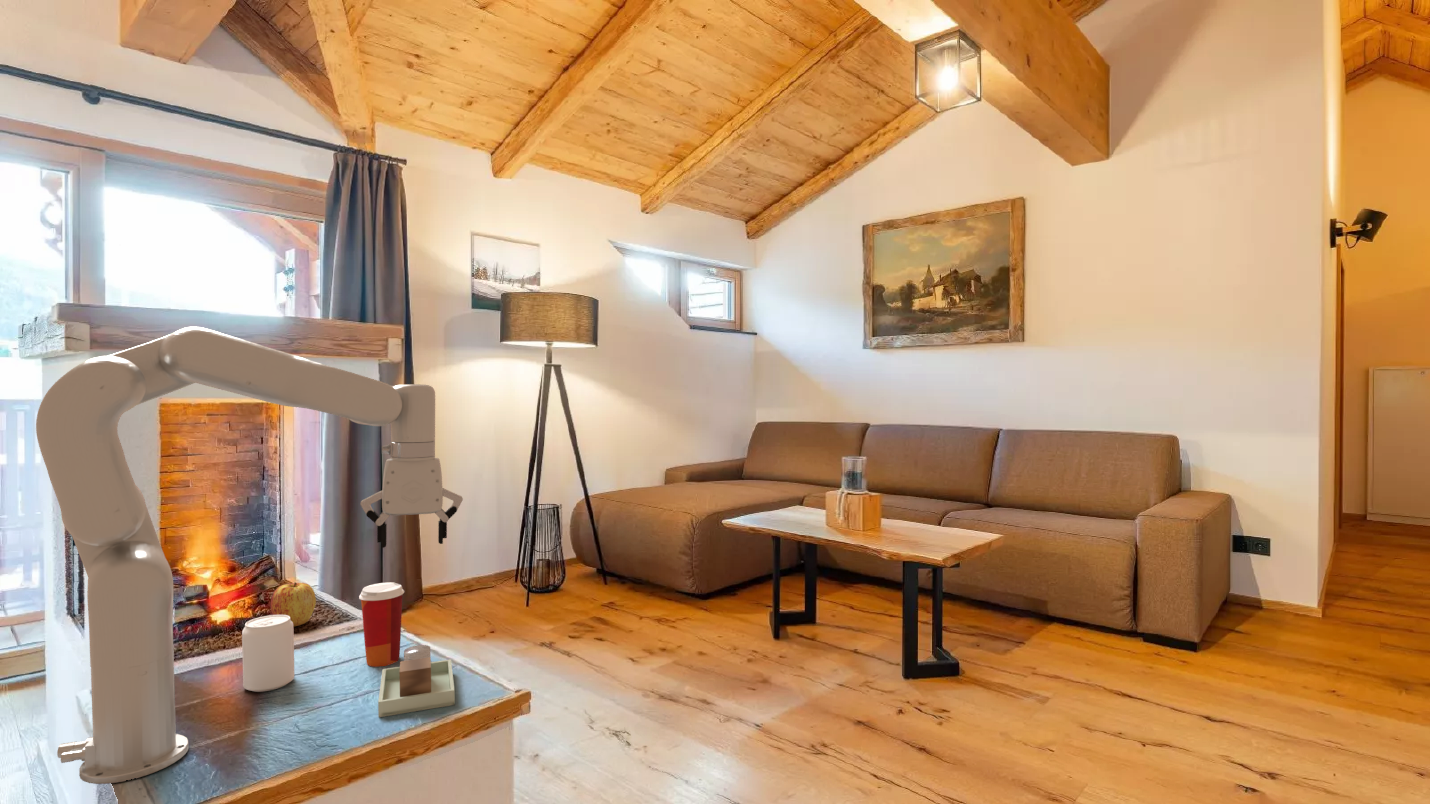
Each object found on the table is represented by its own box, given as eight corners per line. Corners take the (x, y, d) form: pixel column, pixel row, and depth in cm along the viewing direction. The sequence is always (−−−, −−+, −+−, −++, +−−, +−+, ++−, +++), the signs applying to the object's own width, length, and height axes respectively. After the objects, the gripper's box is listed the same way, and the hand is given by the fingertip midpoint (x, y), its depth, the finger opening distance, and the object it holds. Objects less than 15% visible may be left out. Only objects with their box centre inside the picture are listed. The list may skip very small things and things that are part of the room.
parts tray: (378, 717, 120) (378, 702, 120) (382, 682, 134) (382, 669, 134) (454, 704, 125) (454, 690, 125) (451, 672, 138) (451, 659, 138)
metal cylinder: (404, 688, 130) (403, 655, 130) (404, 678, 134) (404, 647, 134) (431, 684, 132) (430, 651, 132) (430, 675, 136) (430, 643, 136)
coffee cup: (393, 650, 150) (392, 579, 150) (413, 659, 145) (411, 586, 145) (352, 662, 144) (350, 588, 143) (371, 673, 139) (370, 596, 138)
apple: (295, 617, 172) (294, 575, 172) (325, 620, 170) (325, 578, 169) (261, 629, 163) (260, 586, 163) (294, 633, 161) (293, 589, 160)
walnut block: (400, 706, 123) (399, 672, 123) (400, 694, 127) (400, 661, 127) (431, 701, 125) (430, 667, 124) (431, 690, 129) (430, 657, 129)
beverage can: (303, 680, 135) (302, 617, 135) (259, 697, 128) (258, 630, 128) (278, 672, 139) (277, 611, 139) (234, 688, 132) (232, 623, 131)
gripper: (359, 454, 125) (358, 552, 125) (464, 452, 131) (463, 545, 132) (362, 450, 132) (361, 543, 132) (461, 448, 138) (461, 537, 139)
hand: (412, 544), depth 132 cm, fingers open, 9 cm apart
